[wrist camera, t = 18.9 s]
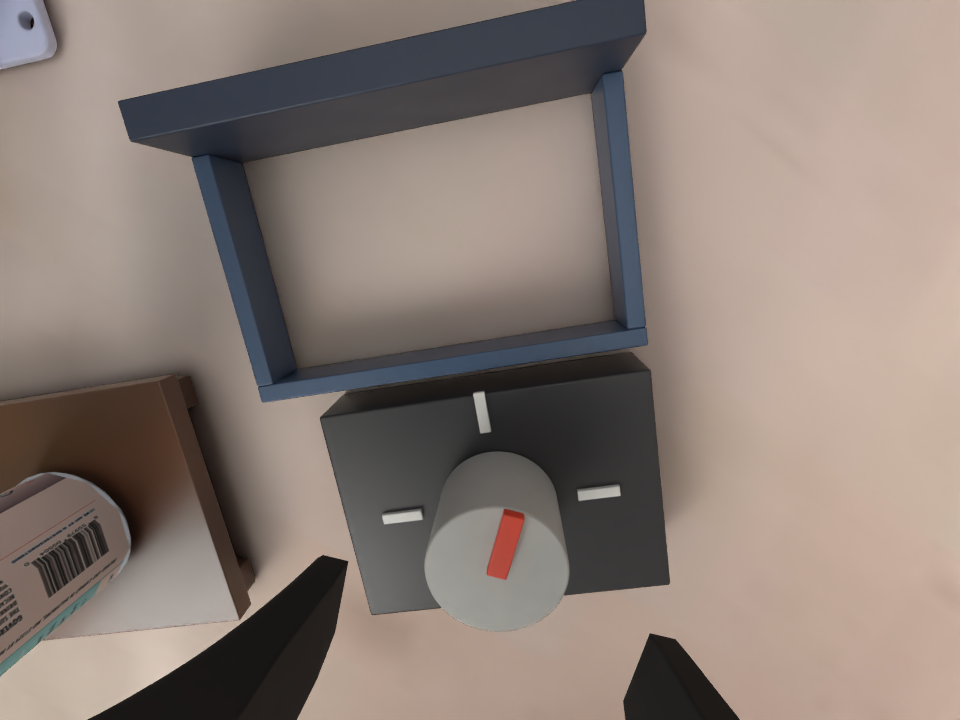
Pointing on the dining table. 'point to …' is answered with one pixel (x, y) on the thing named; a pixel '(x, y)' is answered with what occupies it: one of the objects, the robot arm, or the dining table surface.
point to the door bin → (395, 107)
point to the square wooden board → (136, 499)
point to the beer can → (53, 555)
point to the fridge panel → (515, 429)
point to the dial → (497, 544)
